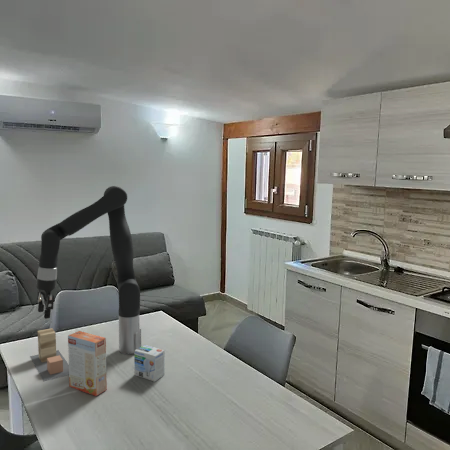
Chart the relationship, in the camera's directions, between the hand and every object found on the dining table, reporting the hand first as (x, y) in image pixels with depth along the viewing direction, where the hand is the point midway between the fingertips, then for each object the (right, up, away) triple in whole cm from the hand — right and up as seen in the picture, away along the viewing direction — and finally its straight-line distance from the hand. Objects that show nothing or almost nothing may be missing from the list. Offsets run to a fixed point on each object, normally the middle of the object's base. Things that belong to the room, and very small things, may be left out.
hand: (43, 314), depth 181 cm
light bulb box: (+46, -23, -6) cm, 52 cm away
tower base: (-1, -20, +6) cm, 21 cm away
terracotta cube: (+7, -22, -5) cm, 23 cm away
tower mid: (-1, -14, +5) cm, 15 cm away
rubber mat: (+3, -21, +1) cm, 22 cm away
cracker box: (+24, -25, -17) cm, 39 cm away
